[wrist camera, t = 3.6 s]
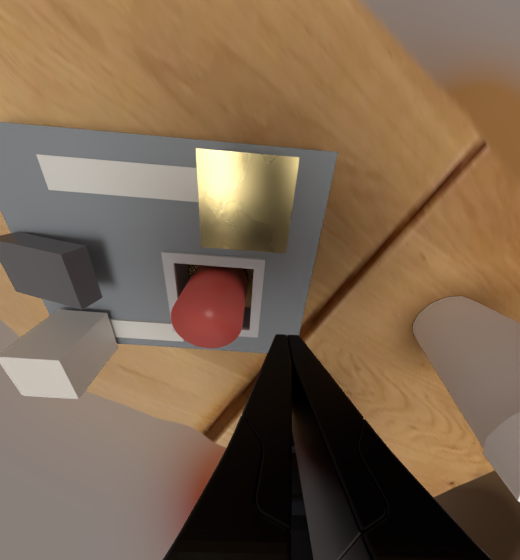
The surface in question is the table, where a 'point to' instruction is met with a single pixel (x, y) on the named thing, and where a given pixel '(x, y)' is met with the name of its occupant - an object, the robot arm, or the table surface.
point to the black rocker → (50, 269)
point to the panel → (155, 225)
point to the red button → (211, 306)
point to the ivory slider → (60, 354)
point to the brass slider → (245, 199)
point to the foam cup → (479, 374)
